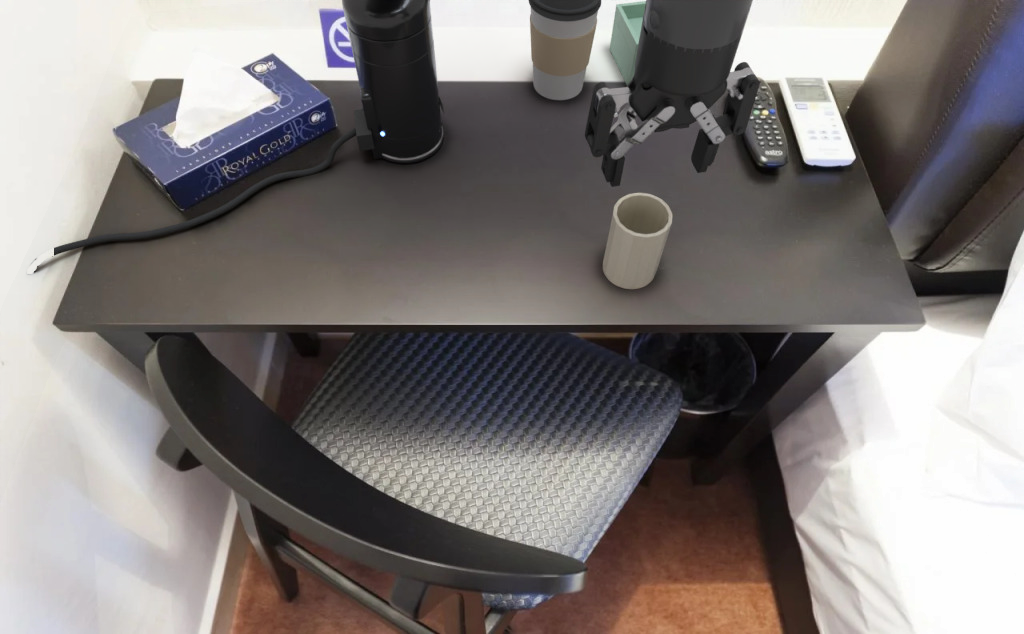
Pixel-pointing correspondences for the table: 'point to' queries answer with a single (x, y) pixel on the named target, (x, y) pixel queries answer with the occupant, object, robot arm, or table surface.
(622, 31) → the mint green open box
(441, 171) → the table surface
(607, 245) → the cup
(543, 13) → the coffee cup
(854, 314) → the table surface
